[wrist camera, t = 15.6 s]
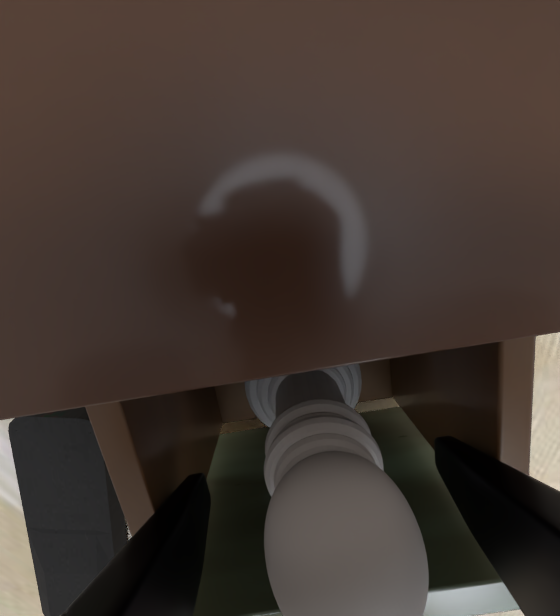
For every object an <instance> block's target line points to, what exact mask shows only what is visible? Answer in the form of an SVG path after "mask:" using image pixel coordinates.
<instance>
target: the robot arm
mask: <svg viewBox="0 0 560 616" xmlns="http://www.w3.org/2000/svg"><path fill="white" fill-rule="evenodd" d="M434 452H435V464H436V468H437V470H438V472H439V474H440V476H441V478H442V480H443V482H444V484H445V485H446V487H447V489H448V491H449V493H450V495H451V497H452V498H453V500H454V502H455V504H456V506H457V508H458V510H459V512H460V513H461V515H462V517H463V519H464V521H465V523H466V524H467V526H468V528H469V530H470V532H471V533H472V535H473V536H474V538H475V540H476V541H477V543H478V544H479V546H480V547H481V549H482V551H483V552H484V554H485V555H486V557H487V558H488V560H489V561H490V563H491V564H492V566H493V567H494V569H495V571H496V572H497V574H498V575H499V577H500V578H501V580H502V581H503V583H504V584H505V586H506V587H507V589H508V591H509V592H510V594H511V595H512V597H513V598H514V600H515V601H516V603H517V604H518V606H519V608H520V609H521V611H522V612H523V614H524V615H525V616H560V491H558V490H556V489H554V488H552V487H550V486H548V485H546V484H544V483H542V482H540V481H538V480H536V479H534V478H532V477H530V476H529V475H527V474H525V473H523V472H521V471H519V470H517V469H515V468H513V467H511V466H509V465H507V464H505V463H503V462H501V461H499V460H497V459H495V458H493V457H492V456H490V455H488V454H486V453H484V452H482V451H480V450H478V449H476V448H474V447H472V446H470V445H468V444H466V443H464V442H462V441H460V440H458V439H456V438H455V437H452V436H450V435H447V436H440V437H436V438H435V440H434ZM210 508H211V495H210V491H209V488H208V484H207V480H206V477H205V475H204V473H195V474H190V475H189V476H187V477H186V479H185V480H184V481H183V482H182V483H181V484H180V485H179V486H178V487H177V488H176V489H175V491H174V492H173V493H172V494H171V495H170V496H169V497H168V498H167V499H166V500H165V502H164V503H163V504H162V505H161V506H160V507H159V508H158V509H157V510H156V511H155V513H154V514H153V515H152V516H151V517H150V518H149V519H148V520H147V521H146V522H145V523H144V525H143V526H142V527H141V528H140V529H139V530H138V531H137V532H136V533H135V534H134V536H133V537H132V538H131V539H130V540H129V541H128V542H127V543H126V544H125V545H124V547H123V548H122V549H121V550H120V551H119V552H118V553H117V554H116V555H115V556H114V557H113V559H112V560H111V561H110V562H109V563H108V564H107V565H106V566H105V567H104V568H103V570H102V571H101V572H100V573H99V574H98V575H97V576H96V577H95V578H94V579H93V581H92V582H91V583H90V584H89V585H88V586H87V587H86V588H85V589H84V590H83V591H82V593H81V594H80V595H79V596H78V597H77V598H76V599H75V600H74V601H73V602H72V604H71V605H70V606H69V607H68V608H67V612H63V613H62V614H61V615H60V616H193V613H194V609H195V604H196V599H197V595H198V590H199V585H200V581H201V575H202V570H203V563H204V556H205V548H206V540H207V532H208V524H209V516H210Z"/></svg>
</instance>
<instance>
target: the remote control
mask: <svg viewBox="0 0 560 616" xmlns="http://www.w3.org/2000/svg"><path fill="white" fill-rule="evenodd" d="M8 432H9V437H10V442H11V448H12V453H13V458H14V463H15V469H16V474H17V479H18V485H19V490H20V495H21V500H22V506H23V511H24V516H25V521H26V527H27V532H28V537H29V543H30V548H31V553H32V559H33V564H34V569H35V574H36V580H37V585H38V590H39V596H40V601H41V606H42V611H43V614H44V615H45V616H60V615H61V614H62V613H63V612H67V608H68V607H69V606H70V605H71V604H72V602H73V601H74V600H75V599H76V598H77V597H78V596H79V595H80V594H81V593H82V591H83V590H84V589H85V588H86V587H87V586H88V585H89V584H90V583H91V582H92V581H93V579H94V578H95V577H96V576H97V575H98V574H99V573H100V572H101V571H102V570H103V568H104V567H105V566H106V565H107V564H108V563H109V562H110V561H111V560H112V559H113V557H114V556H115V555H116V554H117V553H118V552H119V551H120V550H121V549H122V548H123V547H124V545H125V544H126V543H127V537H126V526H125V516H124V513H123V511H122V508H121V505H120V502H119V500H118V497H117V494H116V491H115V488H114V486H113V483H112V480H111V477H110V475H109V472H108V469H107V466H106V463H105V461H104V458H103V455H102V452H101V450H100V447H99V444H98V441H97V438H96V436H95V433H94V430H93V427H92V425H91V422H90V419H89V416H88V414H87V411H86V408H85V407H80V408H74V409H68V410H61V411H55V412H49V413H42V414H36V415H29V416H23V417H17V418H15V419H14V420H13V421H12V422H10V423H9V430H8Z"/></svg>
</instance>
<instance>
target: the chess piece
mask: <svg viewBox="0 0 560 616" xmlns="http://www.w3.org/2000/svg"><path fill="white" fill-rule="evenodd" d="M361 384H362V380H361V371H360V367H359V364H354V365H347V366H341V367H334V368H328V369H322V370H315V371H309V372H303V373H296V374H290V375H284V376H277V377H271V378H265V379H258V380H252V381H245V391H246V396H247V399H248V402H249V405H250V407H251V409H252V411H253V412H254V413H255V415H256V416H257V417H258V419H259V420H260V421H261V422H262V423H264V424H265V425H266V426H267V427H269V428H270V429H269V431H268V433H267V437H266V441H265V455H266V458H265V462H264V478H265V482H266V486H267V489H268V492H269V494H270V495H271V500H270V503H269V506H268V510H267V514H266V520H265V529H264V550H265V560H266V567H267V572H268V577H269V581H270V584H271V588H272V591H273V594H274V596H275V599H276V602H277V604H278V606H279V608H280V610H281V612H282V614H283V616H423V613H424V610H425V606H426V601H427V596H428V585H429V573H428V562H427V555H426V550H425V545H424V541H423V538H422V534H421V531H420V528H419V526H418V523H417V521H416V518H415V516H414V514H413V512H412V509H411V508H410V506H409V504H408V502H407V500H406V499H405V497H404V495H403V494H402V492H401V491H400V489H399V488H398V487H397V485H396V484H395V483H394V482H393V481H392V479H391V478H390V477H389V476H388V475H387V474H386V473H385V472H384V471H383V470H384V469H383V459H382V455H381V451H380V449H379V446H378V444H377V443H376V441H375V440H374V438H373V437H372V436H371V432H370V429H369V427H368V425H367V423H366V422H365V420H364V419H363V418H362V416H361V415H360V414H359V413H358V412H356V411H355V410H354V408H355V406H356V404H357V402H358V400H359V397H360V393H361Z"/></svg>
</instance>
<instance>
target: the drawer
mask: <svg viewBox="0 0 560 616" xmlns="http://www.w3.org/2000/svg"><path fill="white" fill-rule="evenodd" d="M535 339H536V336H531V337H525V338H519V339H512V340H506V341H500V342H493V343H487V344H481V345H474V346H468V347H462V348H455V349H449V350H442V351H436V352H430V353H423V354H417V355H411V356H404V357H398V358H392V359H385V360H379V361H373V362H366V363H360V364H359V367H360V371H361V380H362V384H361V393H360V397H359V400H358V402H364V401H370V400H377V399H383V398H390V397H393V398H394V399H395V401H396V402H397V403H398V404H399V406H400V407H394V408H388V409H381V410H375V411H368V412H362V413H359V414H360V415H361V416H362V418H363V419H364V420H365V422H366V423H367V425H368V427H369V429H370V432H371V436H372V437H373V438H374V440H375V441H376V443H377V444H378V446H379V449H380V451H381V455H382V459H383V469H384V470H383V471H384V472H385V473H386V474H387V475H388V476H389V477H390V478H391V479H392V481H393V482H394V483H395V484H396V485H397V487H398V488H399V489H400V491H401V492H402V494H403V495H404V497H405V499H406V500H407V502H408V504H409V506H410V508H411V509H412V512H413V514H414V516H415V518H416V521H417V523H418V526H419V528H420V531H421V534H422V538H423V541H424V545H425V550H426V555H427V562H428V573H429V585H428V596H427V601H426V606H425V610H424V613H423V616H476V615H483V614H490V613H497V612H505V611H512V610H519V609H520V608H519V606H518V604H517V603H516V601H515V600H514V598H513V597H512V595H511V594H510V592H509V591H508V589H507V587H506V586H505V584H504V583H503V581H502V580H501V578H500V577H499V575H498V574H497V572H496V571H495V569H494V567H493V566H492V564H491V563H490V561H489V560H488V558H487V557H486V555H485V554H484V552H483V551H482V549H481V547H480V546H479V544H478V543H477V541H476V540H475V538H474V536H473V535H472V533H471V532H470V530H469V528H468V526H467V524H466V523H465V521H464V519H463V517H462V515H461V513H460V512H459V510H458V508H457V506H456V504H455V502H454V500H453V498H452V497H451V495H450V493H449V491H448V489H447V487H446V485H445V484H444V482H443V480H442V478H441V476H440V474H439V472H438V470H437V468H436V464H435V452H434V440H435V438H436V437H440V436H447V435H450V436H452V437H455V438H456V439H458V440H460V441H462V442H464V443H466V444H468V445H470V446H472V447H474V448H476V449H478V450H480V451H482V452H484V453H486V454H488V455H490V456H492V457H493V458H495V459H497V460H499V461H501V462H503V463H505V464H507V465H509V466H511V467H513V468H515V469H517V470H519V471H521V472H523V473H525V474H527V475H529V463H530V443H531V422H532V401H533V381H534V360H535ZM85 408H86V411H87V414H88V416H89V419H90V422H91V425H92V427H93V430H94V433H95V436H96V438H97V441H98V444H99V447H100V450H101V452H102V455H103V458H104V461H105V463H106V466H107V469H108V472H109V475H110V477H111V480H112V483H113V486H114V488H115V491H116V494H117V497H118V500H119V502H120V505H121V508H122V511H123V513H124V516H125V519H126V522H127V525H128V527H129V530H130V533H131V536H132V537H133V536H134V534H135V533H136V532H137V531H138V530H139V529H140V528H141V527H142V526H143V525H144V523H145V522H146V521H147V520H148V519H149V518H150V517H151V516H152V515H153V514H154V513H155V511H156V510H157V509H158V508H159V507H160V506H161V505H162V504H163V503H164V502H165V500H166V499H167V498H168V497H169V496H170V495H171V494H172V493H173V492H174V491H175V489H176V488H177V487H178V486H179V485H180V484H181V483H182V482H183V481H184V480H185V479H186V477H187V476H189V475H190V474H195V473H204V475H205V477H206V480H207V484H208V488H209V491H210V495H211V508H210V516H209V524H208V532H207V540H206V548H205V556H204V563H203V570H202V575H201V581H200V585H199V590H198V595H197V599H196V604H195V609H194V613H193V616H283V614H282V612H281V610H280V608H279V606H278V604H277V602H276V599H275V596H274V594H273V591H272V588H271V584H270V581H269V577H268V572H267V567H266V560H265V550H264V529H265V520H266V514H267V510H268V506H269V503H270V500H271V495H270V494H269V492H268V489H267V486H266V482H265V478H264V462H265V458H266V455H265V441H266V437H267V433H268V431H269V429H270V428H269V427H264V428H258V429H251V430H245V431H238V432H232V433H225V434H220V432H221V428H222V425H223V423H228V422H235V421H241V420H247V419H254V418H258V417H257V416H256V415H255V413H254V412H253V411H252V409H251V407H250V405H249V402H248V399H247V396H246V391H245V382H239V383H233V384H226V385H220V386H214V387H207V388H201V389H195V390H188V391H182V392H176V393H169V394H163V395H157V396H150V397H144V398H137V399H131V400H125V401H118V402H112V403H106V404H99V405H93V406H87V407H85Z"/></svg>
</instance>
